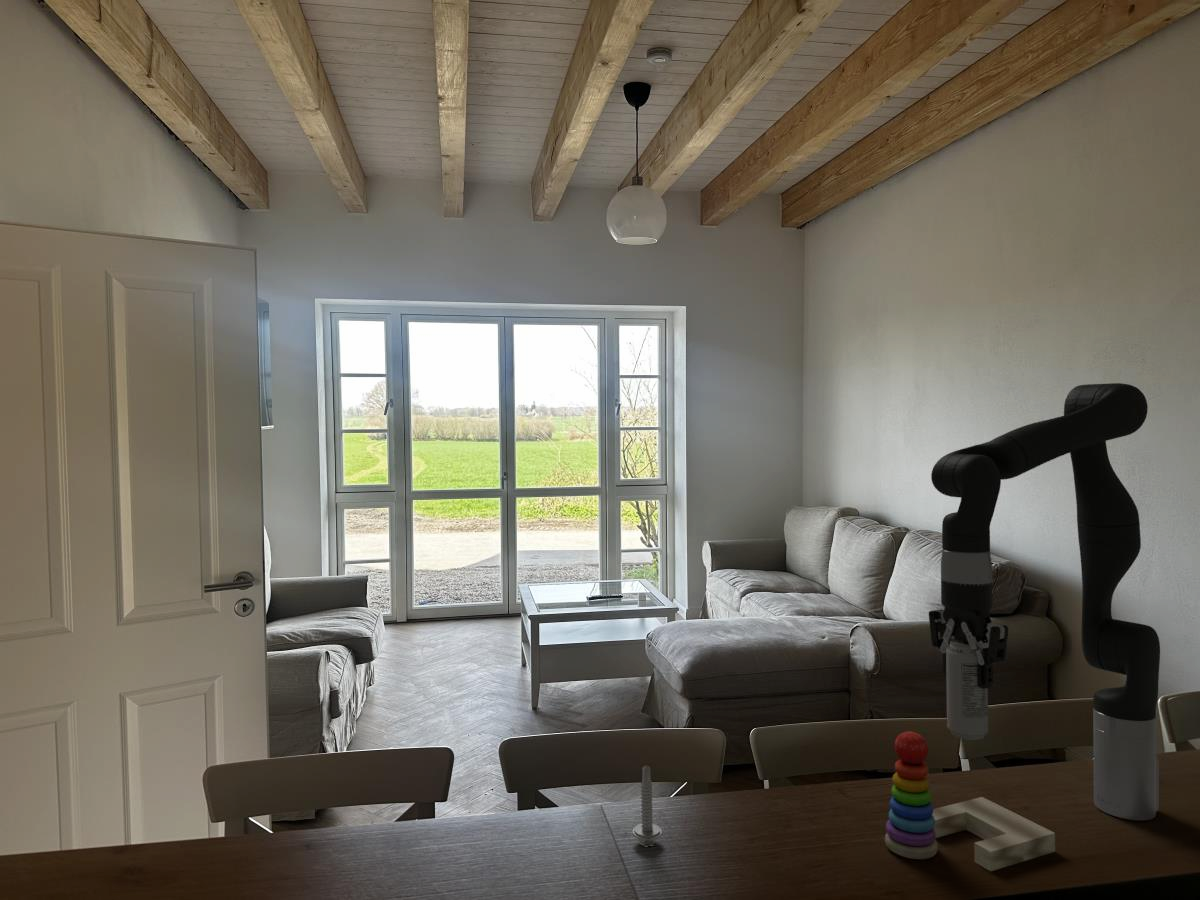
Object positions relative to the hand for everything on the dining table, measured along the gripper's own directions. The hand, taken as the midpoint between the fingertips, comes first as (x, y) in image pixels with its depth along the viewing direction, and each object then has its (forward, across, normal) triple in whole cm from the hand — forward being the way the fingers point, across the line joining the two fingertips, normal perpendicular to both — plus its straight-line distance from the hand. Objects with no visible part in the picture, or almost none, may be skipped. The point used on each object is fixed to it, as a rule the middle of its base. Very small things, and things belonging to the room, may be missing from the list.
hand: (967, 681), depth 128 cm
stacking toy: (+27, +3, +9) cm, 29 cm away
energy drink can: (+9, 0, 0) cm, 9 cm away
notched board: (+27, 0, -4) cm, 27 cm away
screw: (+27, +22, +47) cm, 59 cm away
